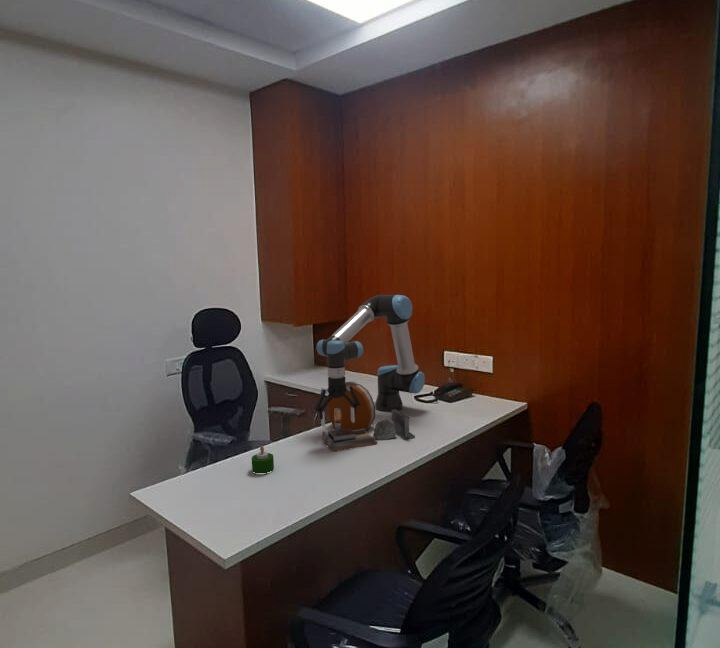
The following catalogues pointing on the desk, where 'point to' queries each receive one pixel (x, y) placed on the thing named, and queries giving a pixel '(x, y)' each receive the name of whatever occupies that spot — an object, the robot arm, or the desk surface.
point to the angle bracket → (401, 424)
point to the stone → (384, 429)
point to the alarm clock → (363, 412)
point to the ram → (340, 429)
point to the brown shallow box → (350, 441)
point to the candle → (262, 462)
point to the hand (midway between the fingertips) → (338, 423)
